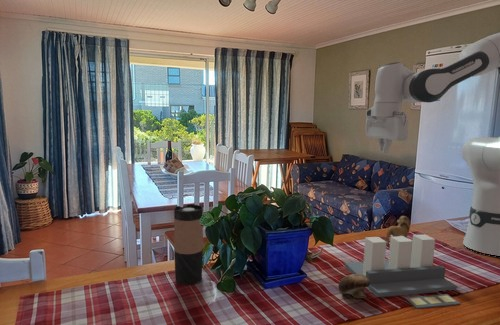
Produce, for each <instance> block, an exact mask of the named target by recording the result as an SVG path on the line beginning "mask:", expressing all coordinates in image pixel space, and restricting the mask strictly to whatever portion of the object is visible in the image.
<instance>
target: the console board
mask: <svg viewBox="0 0 500 325" xmlns="http://www.w3.org/2000/svg"><path fill="white" fill-rule="evenodd" d="M363 263H364V261H351V262H344V268H346V270H348V271H349V272H350V273H351V275H352V274H361V275H363V276H365V277H367V278H368V279H369V280H370V285H369V286H368V287H366V288H367V289H368V290H369V291H370V292H371V294H374V296H376V297H377V298H384V297H396V296H398V297H399V296H405V295H407V296H409V295H418V294H430V293H440V292H439V291H443V292H447V291H446V290H454V291H457V290H458V289H457V288H458V285H456V284H455V283H453V282H452V281H450V280H448V279H447V278H445V276H446V267H445V266H443V265H433V266H428V267H414V268H400V269H388V263H389V259H385V267H384V270H373V271H366V274H365V273H364V272H363ZM410 264H411V263H410Z"/></svg>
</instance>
